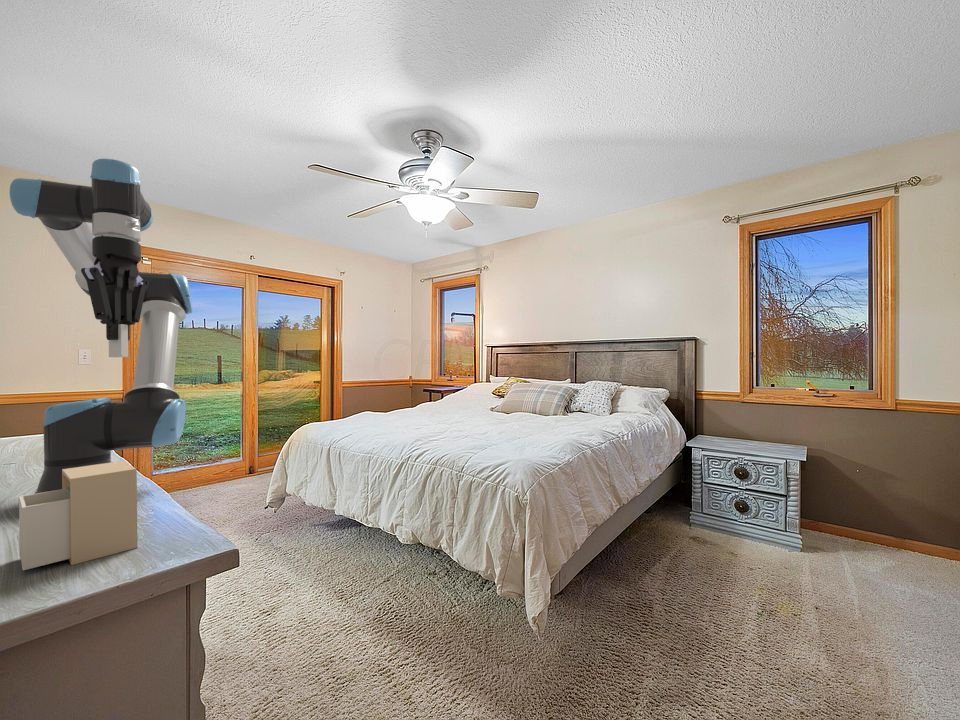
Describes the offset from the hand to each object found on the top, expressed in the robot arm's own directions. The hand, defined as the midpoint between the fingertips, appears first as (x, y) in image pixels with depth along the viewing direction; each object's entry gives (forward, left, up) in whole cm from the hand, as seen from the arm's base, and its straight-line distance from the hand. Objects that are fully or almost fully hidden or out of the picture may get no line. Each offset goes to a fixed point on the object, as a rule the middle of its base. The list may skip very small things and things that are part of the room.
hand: (118, 357), depth 86 cm
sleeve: (+13, +9, -32) cm, 36 cm away
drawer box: (+16, +7, -32) cm, 36 cm away
